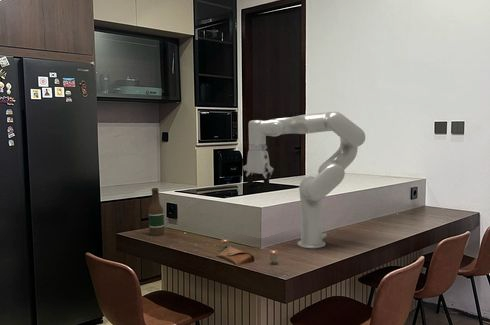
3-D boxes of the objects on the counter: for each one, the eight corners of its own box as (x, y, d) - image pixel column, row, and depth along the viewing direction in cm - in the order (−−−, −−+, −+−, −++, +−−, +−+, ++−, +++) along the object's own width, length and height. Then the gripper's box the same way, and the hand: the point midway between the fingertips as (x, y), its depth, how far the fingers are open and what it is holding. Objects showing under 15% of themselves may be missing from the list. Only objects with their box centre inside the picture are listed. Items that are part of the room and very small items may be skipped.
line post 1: (225, 249, 215) (224, 238, 215) (230, 251, 213) (229, 239, 213) (220, 251, 213) (219, 240, 212) (225, 252, 211) (224, 241, 210)
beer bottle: (146, 234, 247) (144, 188, 245) (159, 231, 252) (157, 186, 250) (154, 237, 241) (152, 189, 239) (167, 234, 247) (165, 188, 244)
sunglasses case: (213, 255, 206) (220, 241, 208) (225, 261, 210) (231, 246, 212) (238, 265, 192) (244, 250, 193) (250, 271, 196) (256, 256, 197)
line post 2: (273, 261, 196) (273, 249, 196) (279, 263, 194) (279, 250, 193) (268, 263, 194) (268, 251, 193) (274, 265, 192) (274, 252, 191)
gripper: (277, 147, 210) (278, 186, 212) (248, 146, 222) (249, 183, 223) (266, 149, 205) (267, 188, 206) (237, 147, 216) (238, 185, 218)
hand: (258, 185), depth 215 cm, fingers open, 9 cm apart
